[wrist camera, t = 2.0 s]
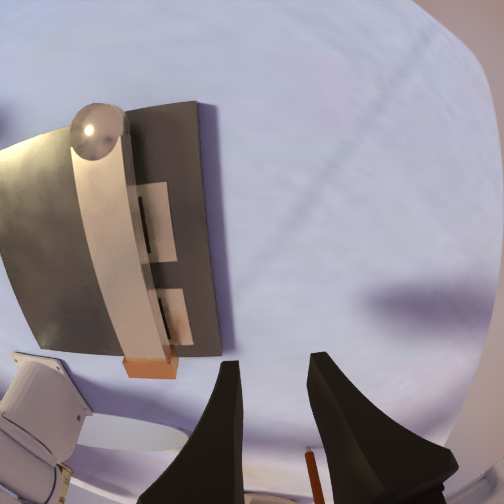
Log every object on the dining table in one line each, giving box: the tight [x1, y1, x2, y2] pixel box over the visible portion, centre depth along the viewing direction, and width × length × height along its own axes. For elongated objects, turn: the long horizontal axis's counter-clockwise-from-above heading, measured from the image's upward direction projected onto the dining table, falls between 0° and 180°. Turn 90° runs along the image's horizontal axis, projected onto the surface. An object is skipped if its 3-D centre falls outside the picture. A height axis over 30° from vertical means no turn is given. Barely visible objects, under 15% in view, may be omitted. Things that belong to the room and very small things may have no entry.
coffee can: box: [17, 463, 73, 504], centre depth 30 cm, size 10×10×14 cm
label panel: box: [0, 101, 222, 357], centre depth 17 cm, size 18×18×2 cm
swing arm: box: [70, 103, 179, 379], centre depth 15 cm, size 18×4×2 cm, turn 2°
